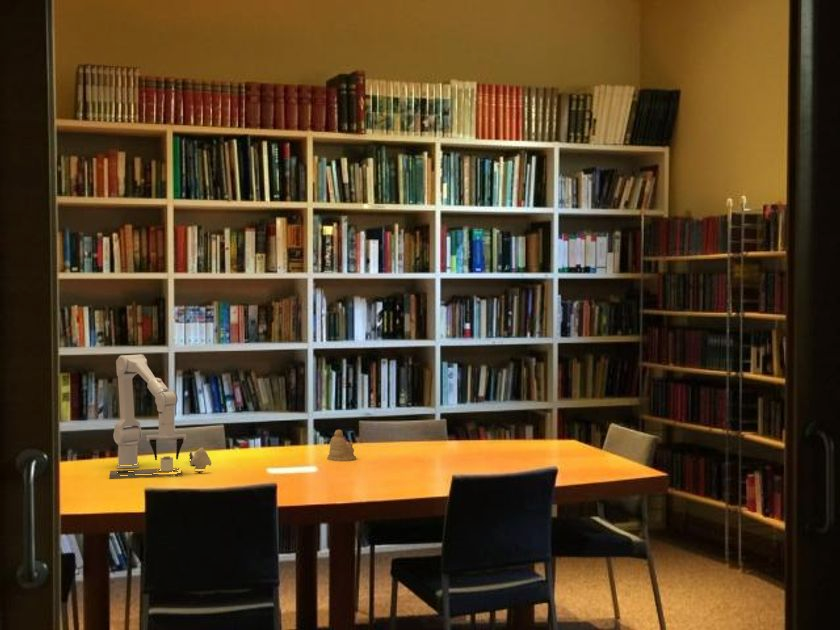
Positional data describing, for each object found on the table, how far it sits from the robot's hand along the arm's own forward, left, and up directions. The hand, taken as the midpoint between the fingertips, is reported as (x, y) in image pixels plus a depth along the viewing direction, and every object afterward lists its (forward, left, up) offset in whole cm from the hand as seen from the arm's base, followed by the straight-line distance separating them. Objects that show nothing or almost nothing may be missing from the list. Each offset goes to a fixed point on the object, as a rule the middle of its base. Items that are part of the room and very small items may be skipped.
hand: (166, 459), depth 401 cm
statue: (-19, +70, -6) cm, 72 cm away
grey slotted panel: (0, -7, -6) cm, 9 cm away
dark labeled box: (-20, +10, -7) cm, 23 cm away
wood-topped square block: (0, 0, -5) cm, 5 cm away
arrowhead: (0, +13, -6) cm, 14 cm away
